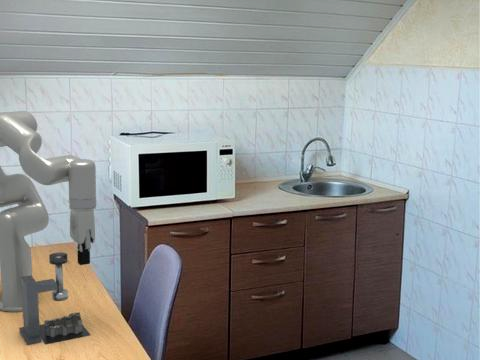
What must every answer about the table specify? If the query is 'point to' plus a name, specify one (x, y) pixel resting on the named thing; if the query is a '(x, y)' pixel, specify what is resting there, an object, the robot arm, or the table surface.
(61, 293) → the disc
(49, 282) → the press frame
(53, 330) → the egg carton
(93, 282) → the table surface
